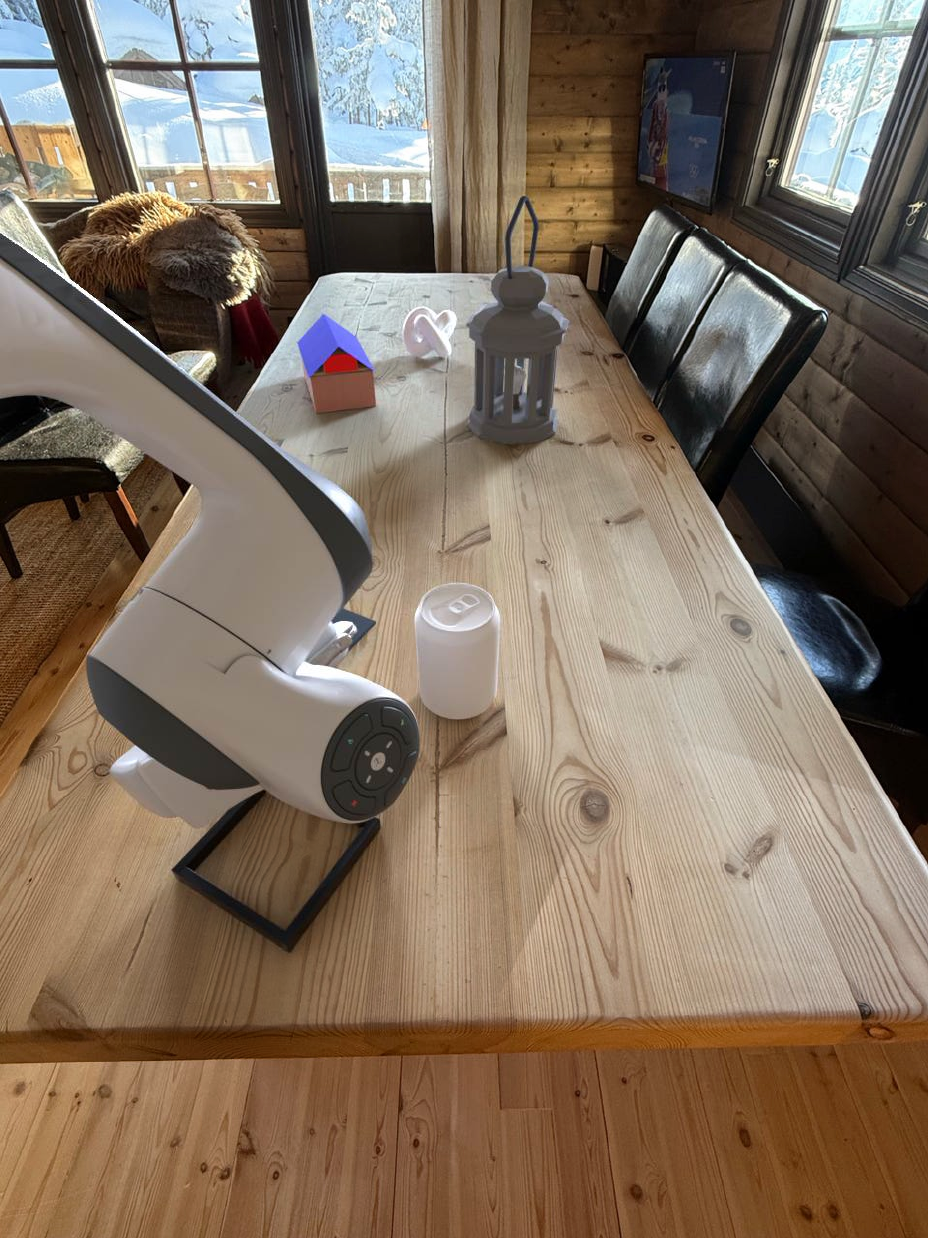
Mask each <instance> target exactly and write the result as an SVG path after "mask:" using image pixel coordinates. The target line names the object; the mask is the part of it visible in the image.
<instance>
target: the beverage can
mask: <svg viewBox="0 0 928 1238" xmlns="http://www.w3.org/2000/svg"><path fill="white" fill-rule="evenodd" d="M500 631H501V614H500V612H499V609H498V607H497V605H496V602H495V600H494V598H493V597H492V595H491V594H490V593H489V592H488V591H487V590H485V589H483V588H481V587H479V586H477V585H474V584H471V583H464V582H451V583H445V584H441V585H438V586H436V587H433V588H432V589H430V590H429V591H427V592H426V593H425V594H424V595H423V596H422V597H421V599H420V601H419V604H418V607H417V608H416V611H415V614H414V634H415V647H416V661H417V662H416V664H417V674H418V675H417V676H418V692H419V698H420V700H421V702H422V703H423V705H424V706H425V707H426V708H427V710H429V711H430V712H432V713H433V714H435V715H436V716H438V717H442V718H443V719H450V720H466V719H471V718H474V717H477V716H480V715H481V714H483V713H484V712H486V711H487V710H488V709H490V708H491V706H492V705H493V704H494V702H495V700H496V698H497V694H498V678H499V677H498V675H499V657H500V655H499V654H500V634H501V632H500Z"/></svg>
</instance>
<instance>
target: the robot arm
mask: <svg viewBox="0 0 928 1238" xmlns="http://www.w3.org/2000/svg"><path fill="white" fill-rule="evenodd" d="M21 396H22V397H23V396H38V397H39V396H40V397H47V398H49V399H53V400H57V401H60V402H62V403H64V404H67V405H69V406H71V407H73V408H75V409H77V410H79V411H80V412H82V413H84V414H85V415H87V416H88V417H90V418H92V419H93V420H95V421H96V422H98V423H99V424H101V425H102V426H104V427H105V428H107V429H108V430H110V431H111V432H113V433H114V434H116V435H117V436H119V437H120V438H122V439H123V440H125V441H126V442H128V443H129V444H131V445H132V446H134V447H135V448H137V449H138V450H140V451H141V452H143V453H144V454H146V455H147V456H149V457H150V458H152V459H153V460H155V461H156V462H157V463H159V464H161V465H162V466H164V467H165V468H167V469H168V470H170V471H171V472H172V473H174V474H175V475H177V476H179V477H180V478H182V479H183V480H185V481H186V482H188V483H189V484H190V485H192V486H193V487H195V489H197V490H198V492H199V495H200V499H201V505H200V511H199V514H198V517H197V519H196V521H195V522H194V523H193V525H192V527H191V528H190V529H189V530H188V531H187V532H186V534H185V535H184V536H183V537H182V539H181V540H180V541H179V542H178V544H177V545H176V546H175V547H174V549H173V550H172V551H171V552H170V554H169V555H168V556H167V557H166V559H164V561H163V562H162V564H161V565H160V566H159V567H158V569H157V570H156V571H155V572H154V574H153V575H152V576H151V577H150V579H149V580H148V581H147V582H146V584H145V585H144V586H143V587H140V589H138V591H137V592H136V593H135V595H134V596H133V597H132V598H131V600H129V602H128V603H127V605H126V606H125V607H124V608H123V610H122V611H121V612H120V613H119V615H117V617H116V619H114V621H113V622H112V623H111V625H110V626H109V627H108V628H107V630H106V631H105V632H104V634H103V635H102V636H101V637H100V639H99V640H98V642H97V643H96V644H95V646H94V647H93V648H92V650H91V651H90V652H89V653H88V654H87V655H86V661H85V664H86V665H85V666H86V668H85V671H86V678H87V679H86V680H87V684H88V686H89V690H90V693H91V697H92V699H93V702H94V705H95V708H96V710H97V712H98V715H100V716H101V717H102V718H103V719H104V720H105V721H106V722H107V723H108V724H110V725H111V726H112V727H113V728H115V729H116V730H117V731H118V732H119V733H120V734H121V735H122V736H124V737H125V738H126V739H127V740H128V741H130V742H131V743H132V744H133V745H134V746H132V747H131V748H130V749H128V750H127V751H126V752H124V754H122V755H121V756H120V757H119V758H117V759H116V761H115V762H114V763H113V764H112V766H111V767H110V768H109V770H108V774H109V775H110V777H111V778H112V779H113V780H114V781H115V782H116V783H117V784H118V785H119V786H120V787H121V788H122V789H123V790H124V791H125V792H126V793H127V794H128V795H129V796H130V797H131V798H132V799H133V800H135V802H136V803H138V805H140V806H141V807H142V808H143V809H145V810H147V811H149V812H150V813H152V814H153V815H156V816H158V817H161V818H166V819H174V818H179V819H181V820H182V821H183V822H184V823H186V824H187V825H189V826H190V827H191V828H193V829H195V830H196V829H197V830H199V829H202V828H205V827H206V826H208V825H209V824H210V823H212V822H213V821H215V820H216V819H218V818H219V817H220V816H223V815H224V814H225V813H226V812H227V811H228V810H229V809H230V808H232V807H233V806H235V805H237V804H238V803H240V802H241V801H243V800H245V799H246V798H248V797H250V796H252V795H254V794H255V793H257V792H260V791H262V790H266V791H267V793H268V794H269V795H271V796H273V797H275V798H276V799H278V800H279V801H281V802H283V803H284V804H286V805H289V806H290V807H293V808H295V809H297V810H299V811H301V812H304V813H306V814H309V815H312V816H313V817H314V816H315V817H318V818H321V819H323V820H326V821H331V822H335V823H341V824H353V823H360V822H364V821H367V820H370V819H372V818H374V817H376V818H377V817H378V816H379V815H381V814H383V813H384V812H385V811H387V810H388V809H390V807H391V806H392V805H394V803H395V802H396V801H397V800H398V798H399V796H400V795H401V794H402V792H403V790H404V789H405V787H406V785H407V784H408V782H409V780H410V778H411V776H412V774H413V773H414V770H415V768H416V764H417V762H418V758H419V755H420V745H421V744H420V743H421V735H420V733H421V732H420V726H419V722H418V720H417V716H416V714H415V713H414V711H413V709H412V708H411V706H410V705H409V704H408V703H407V702H406V701H405V700H404V699H403V698H401V697H400V696H398V695H397V694H396V693H394V692H392V691H391V690H389V689H388V688H385V687H383V686H382V685H379V684H378V683H376V682H373V681H371V680H370V679H367V678H365V677H362V676H360V675H358V674H355V673H351V672H348V671H344V670H342V669H339V668H336V666H337V665H339V664H340V663H341V662H342V661H343V660H344V658H345V657H346V656H347V654H348V653H349V651H348V647H349V646H350V645H351V643H352V637H353V636H354V634H355V633H356V632H357V627H356V625H354V624H353V623H352V622H345V621H341V622H337V623H335V624H333V623H332V622H331V620H332V619H333V617H334V616H335V615H336V614H338V613H339V612H340V611H341V610H342V609H344V608H345V607H346V605H347V604H348V603H349V601H350V600H351V599H352V598H353V596H354V595H355V594H356V593H357V592H358V590H359V589H360V587H361V586H362V585H363V584H364V583H365V582H366V581H367V579H368V578H369V577H370V575H371V574H372V571H373V568H374V567H373V566H374V564H373V548H372V542H371V536H370V530H369V527H368V523H367V520H366V517H365V514H364V512H363V511H364V510H362V508H361V507H360V505H359V504H358V503H357V502H356V500H354V498H352V497H351V496H350V495H349V494H348V493H347V492H345V491H344V490H343V489H342V488H340V487H339V486H338V485H337V484H335V483H334V482H333V481H331V480H330V479H329V478H327V477H325V476H324V475H323V474H322V473H320V472H318V471H317V470H316V469H314V468H312V467H311V466H310V465H308V464H306V463H305V462H303V461H302V460H300V459H299V458H297V457H295V456H294V455H293V454H291V453H290V452H288V451H287V450H285V449H283V448H282V447H281V446H280V445H278V444H276V443H275V442H274V441H273V440H272V439H270V438H268V437H267V436H266V435H265V434H263V433H262V432H261V431H260V430H258V429H257V428H256V427H255V426H253V425H252V424H251V423H250V422H248V420H246V419H245V418H243V416H241V415H240V414H239V413H237V412H236V411H235V410H233V409H232V408H231V407H230V406H229V405H228V404H226V403H225V402H224V401H223V400H221V399H220V398H219V397H218V396H217V395H215V394H214V393H213V392H212V391H211V390H209V389H208V388H207V387H206V386H204V385H203V384H202V383H200V382H199V381H198V380H197V379H196V378H195V377H193V376H192V375H191V374H189V373H188V372H187V371H186V370H185V369H184V368H183V367H181V366H180V365H178V364H177V363H176V362H175V361H174V360H173V359H171V358H170V357H169V356H167V354H165V353H164V352H163V351H161V350H160V348H158V347H157V346H155V345H154V344H153V343H152V342H150V341H149V340H148V339H147V338H146V337H144V335H142V334H140V333H139V331H137V330H136V329H134V328H133V327H132V326H131V325H129V324H128V323H127V322H125V321H124V320H123V319H122V318H121V317H119V316H118V315H117V314H115V313H114V312H113V311H112V310H110V309H109V308H108V307H106V306H105V305H104V304H103V303H101V302H100V301H99V300H98V299H96V298H95V297H93V296H92V295H91V294H90V293H88V292H87V291H86V290H84V289H83V288H82V287H80V286H79V284H77V283H75V282H74V281H73V280H71V279H70V278H69V277H67V276H66V275H64V273H62V272H61V271H60V270H59V269H57V268H55V267H54V266H53V265H51V264H50V263H49V262H47V261H46V260H44V259H43V258H42V257H40V256H39V255H38V254H35V253H34V252H33V251H31V250H30V249H28V248H26V247H25V246H23V245H22V244H21V243H19V242H17V241H16V240H14V239H12V238H11V237H9V236H8V235H6V234H5V233H3V232H1V231H0V399H6V398H12V397H21Z"/></svg>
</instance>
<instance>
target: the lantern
mask: <svg viewBox="0 0 928 1238" xmlns="http://www.w3.org/2000/svg"><path fill="white" fill-rule="evenodd" d="M524 205H525V206H526V210H527V211H528V214H529V216H530V219H531V221H532V227H533V229H532V237H531V243H530V252H529V257H528V265H527V266H526V265H514V266H513V262H512V241H511V240H512V235H513V231H514V229H515V227H516V224H517V221H518V219H519V216H520V214H521V211H522V210H523V206H524ZM539 229H540V224H539V219H538V217H537V214H536V212H535V210H534V208H533V205H532V203H531V200H530V198H529V196H526V195H522V196H520V198H519V200H518V202H517V204H516V207H515V208H514V211H513V214H512V216H511V218H510V221H509V223H508V226H507V228H506V231H505V236H504V244H505V246H504V247H505V259H506V261H505V263H506V267H505V268H502V269H499V270H498V272H496V274H495V275H494V276H493V279H492V280H491V281H490V292H491V294H492V296H493V298H494V299H495V301H491V302H487V303H485V304H483V305H482V306H480V307H479V308H478V310H477V311H476V312H475V313H472V314H471V316H470V317H469V319H468V320H467V322H465V323H466V324H465V325H466V328H468V338H470V339H471V340H472V341H474V377H473V378H474V381H473V382H474V383H473V384H474V388H473V389H474V392H473V395H474V397H473V400H474V401H473V406H472V408H471V409H470V412H469V418H468V420H467V422H466V427H467V428H468V429H469V430H470V431H471V432H472V433H473V434H474V435H475V436H476V437H477V438H478V439H481V440H486V441H490V442H493V443H497V444H502V445H504V446H507V445H523V444H524V445H526V444H527V445H528V444H529V445H530V444H537V443H540V441H543V440H545V439H548V438H550V437H552V436H555V435H556V434H557V430H558V426H559V422H560V420H559V419H558V418H557V411H558V410H557V409H556V408H555V406H554V397H555V386H556V373H557V364H558V353H559V352H558V351H559V346H560V345H562V344H563V342H564V338H565V335H566V333H567V329H568V326H569V323H570V320H569V319H567V317H564V314H563V313H561V311H559V310H558V309H557V308H555V307H554V306H552V305H550V304H549V303H547V302H545V301H543V300H544V298H545V296H546V295H547V292H548V290H549V281H550V280H549V278H548V277H547V275H546V274H545V272H544V271H542V270H540V269H537V268H535V267H534V261H535V257H536V249H537V243H538V236H539ZM527 359H528V364H527V365H528V366H527V374H526V363H527V362H526V361H527ZM526 378H527V379H526ZM525 380H527V381H525ZM525 382H526V392H525Z"/></svg>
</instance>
